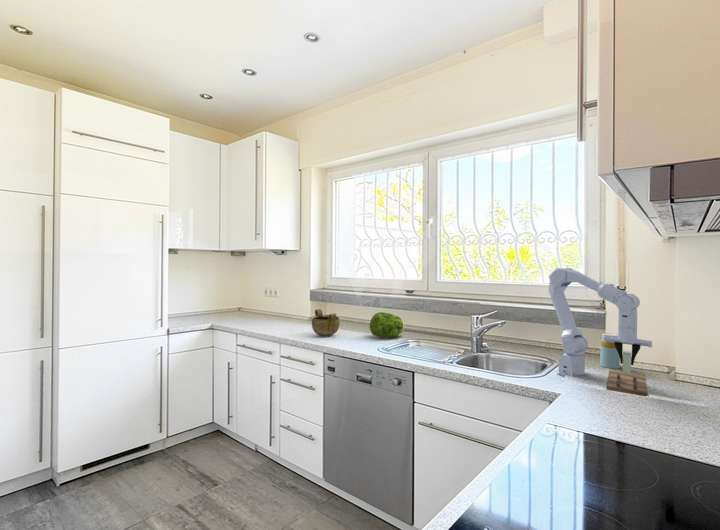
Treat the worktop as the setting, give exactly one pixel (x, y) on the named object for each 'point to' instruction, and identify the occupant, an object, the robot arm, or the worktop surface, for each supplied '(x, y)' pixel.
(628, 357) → the door panel
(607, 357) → the bottle
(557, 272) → the robot arm
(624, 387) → the hinge board
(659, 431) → the worktop surface
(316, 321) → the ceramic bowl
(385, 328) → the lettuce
